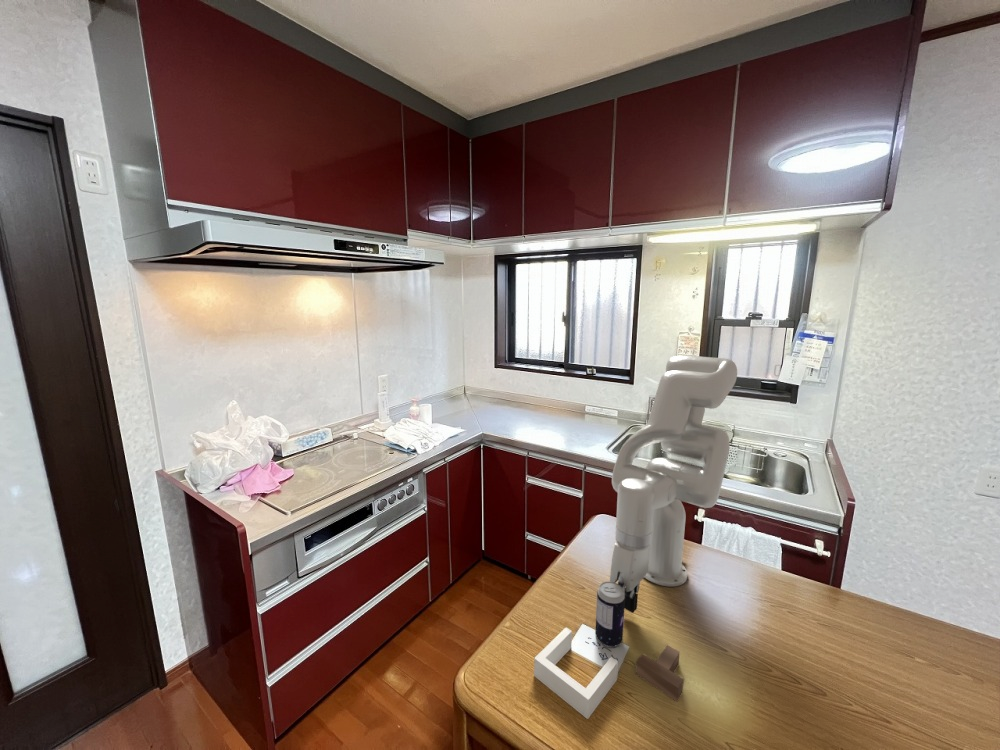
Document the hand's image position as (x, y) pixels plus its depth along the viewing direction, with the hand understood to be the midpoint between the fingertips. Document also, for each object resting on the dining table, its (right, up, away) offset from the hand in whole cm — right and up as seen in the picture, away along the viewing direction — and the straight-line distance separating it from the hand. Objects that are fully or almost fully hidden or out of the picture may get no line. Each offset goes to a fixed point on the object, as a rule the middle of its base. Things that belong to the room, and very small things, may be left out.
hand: (628, 607), depth 93 cm
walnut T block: (+3, -5, -14) cm, 15 cm away
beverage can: (-6, -3, -6) cm, 9 cm away
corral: (-15, -5, -15) cm, 22 cm away
